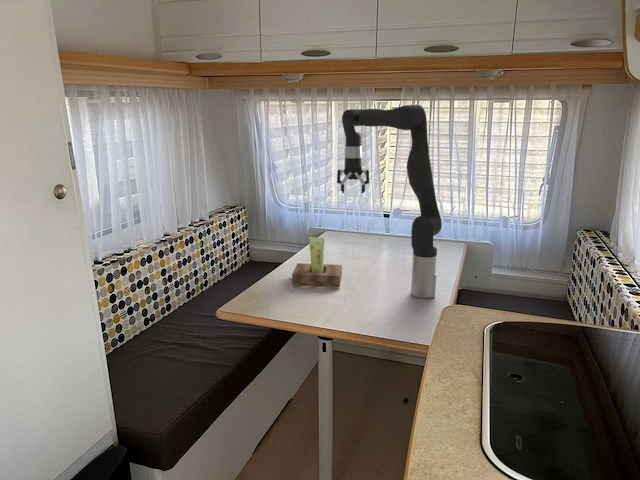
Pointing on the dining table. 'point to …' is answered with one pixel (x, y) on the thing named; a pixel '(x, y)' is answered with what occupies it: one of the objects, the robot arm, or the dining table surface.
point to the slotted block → (317, 277)
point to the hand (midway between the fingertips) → (352, 192)
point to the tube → (316, 254)
